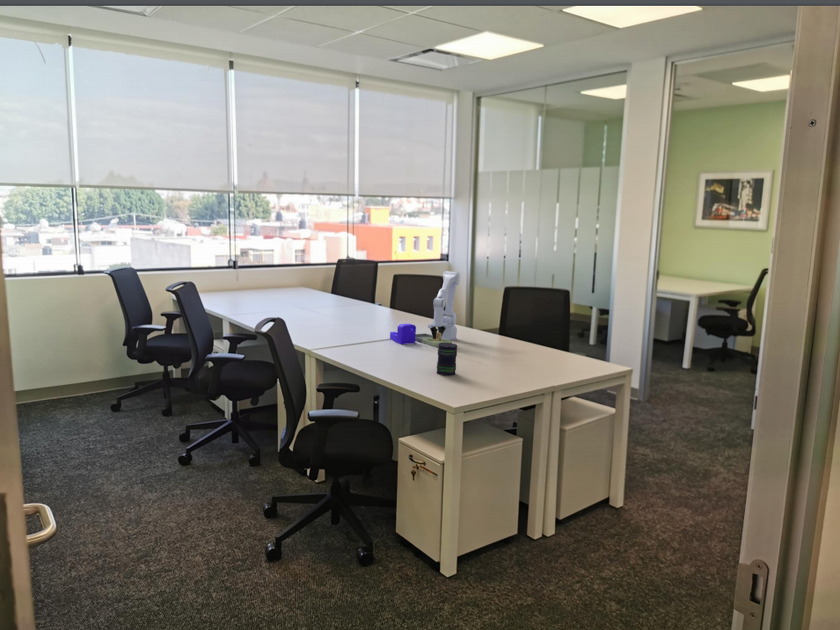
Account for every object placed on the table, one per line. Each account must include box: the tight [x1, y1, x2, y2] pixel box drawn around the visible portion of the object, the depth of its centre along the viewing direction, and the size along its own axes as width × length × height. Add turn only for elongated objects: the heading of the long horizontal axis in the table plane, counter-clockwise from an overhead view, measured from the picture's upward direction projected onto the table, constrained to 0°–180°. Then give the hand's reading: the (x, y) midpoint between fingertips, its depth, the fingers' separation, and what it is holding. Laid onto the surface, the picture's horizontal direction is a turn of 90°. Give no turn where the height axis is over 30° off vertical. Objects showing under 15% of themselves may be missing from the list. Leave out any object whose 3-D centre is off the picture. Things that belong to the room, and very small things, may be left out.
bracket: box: [389, 323, 417, 345], centre depth 393 cm, size 18×11×12 cm, turn 39°
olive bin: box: [421, 338, 453, 348], centre depth 391 cm, size 14×13×2 cm
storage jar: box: [436, 342, 458, 377], centre depth 318 cm, size 10×10×15 cm
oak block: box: [432, 331, 441, 341], centre depth 391 cm, size 4×4×5 cm
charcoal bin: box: [415, 332, 432, 343], centre depth 402 cm, size 14×13×2 cm
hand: (437, 338), depth 391 cm, fingers closed on oak block, 4 cm apart
